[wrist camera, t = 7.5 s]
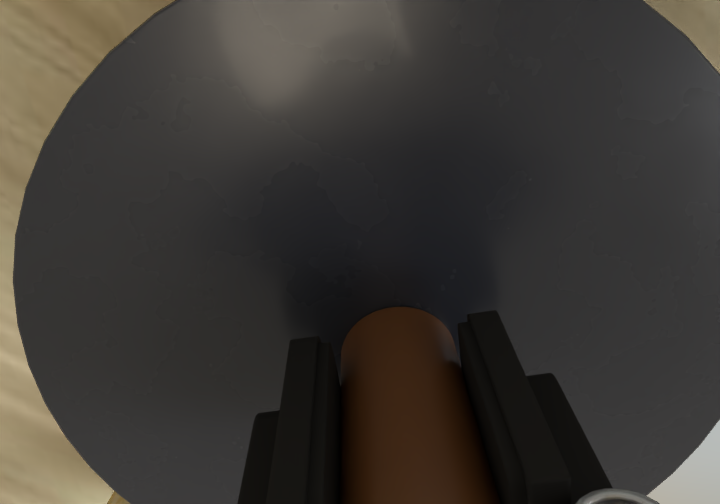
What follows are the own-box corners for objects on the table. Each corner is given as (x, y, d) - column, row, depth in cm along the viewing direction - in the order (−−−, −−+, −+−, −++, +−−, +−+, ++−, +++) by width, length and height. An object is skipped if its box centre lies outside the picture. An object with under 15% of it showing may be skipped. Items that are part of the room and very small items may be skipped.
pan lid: (808, -144, 9) (1488, -308, 4) (701, 512, 16) (884, 790, 11) (-106, 19, 10) (-655, 79, 4) (166, 579, 17) (81, 872, 11)
